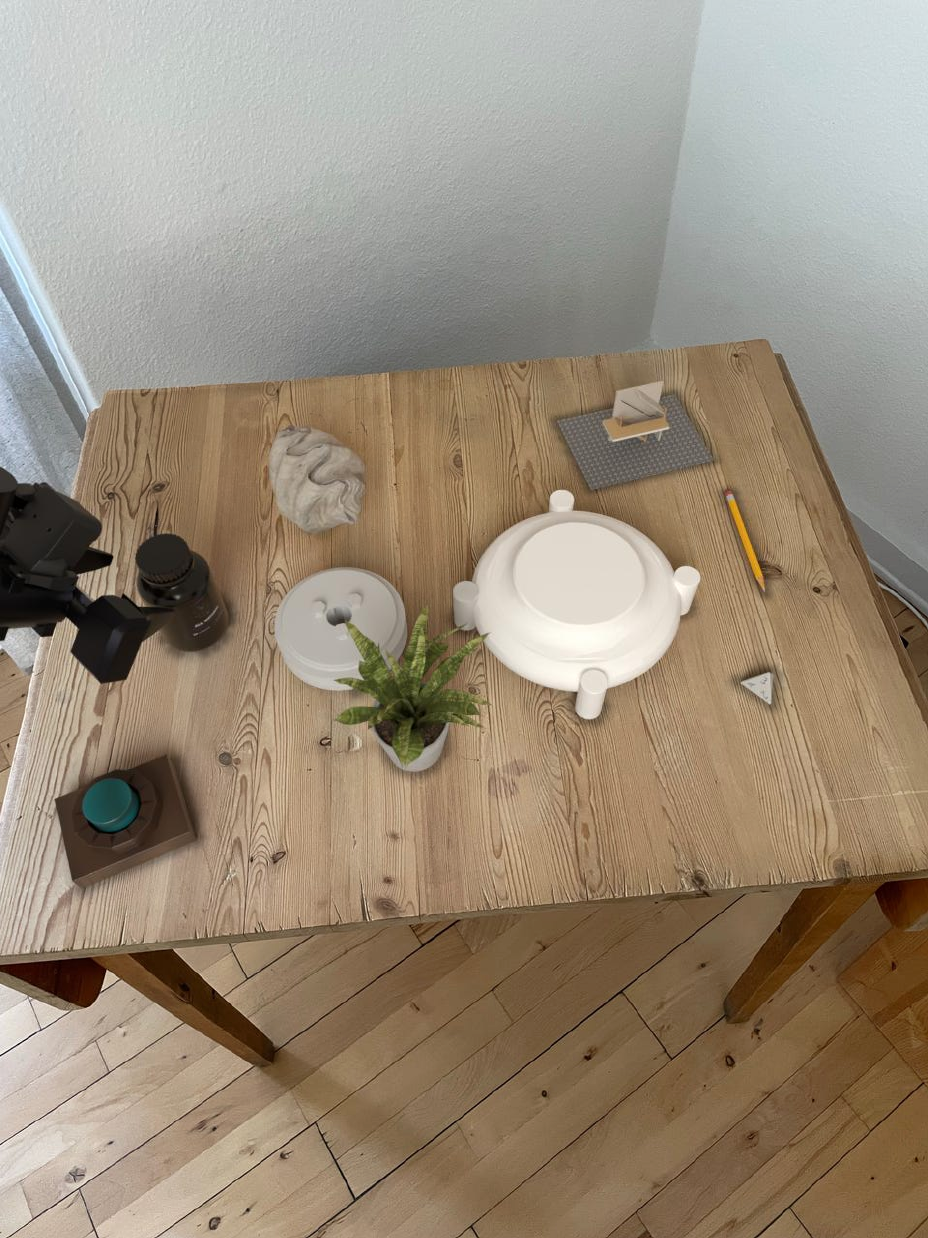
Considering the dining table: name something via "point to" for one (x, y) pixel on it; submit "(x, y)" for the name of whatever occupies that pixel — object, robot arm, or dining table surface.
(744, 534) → the pencil
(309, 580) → the lid
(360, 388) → the dining table surface
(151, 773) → the button housing
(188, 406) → the dining table surface
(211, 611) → the supplement bottle
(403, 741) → the house plant
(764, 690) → the tetrahedral die
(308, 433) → the seashell
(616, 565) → the round stand with pegs
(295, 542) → the dining table surface
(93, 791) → the press top
